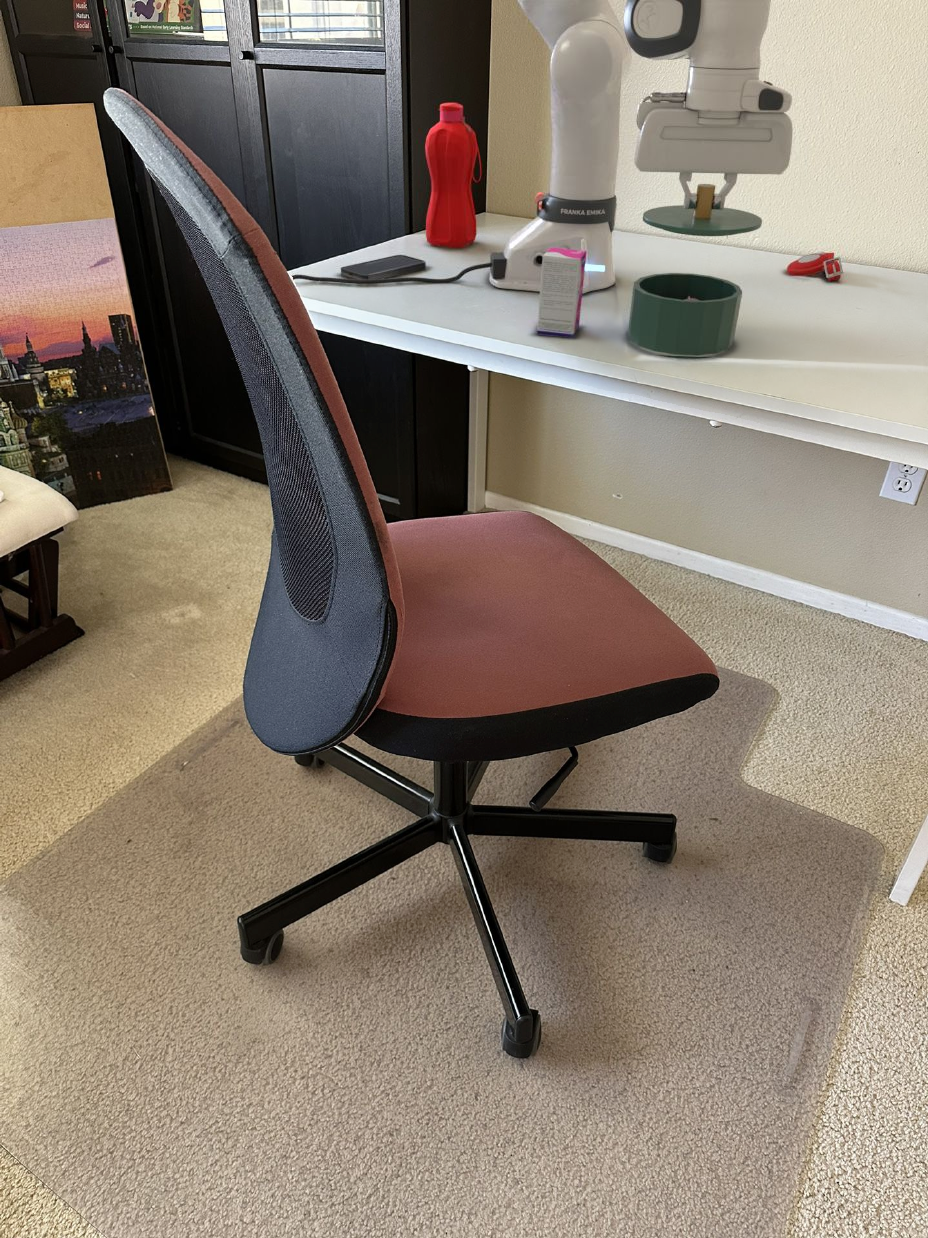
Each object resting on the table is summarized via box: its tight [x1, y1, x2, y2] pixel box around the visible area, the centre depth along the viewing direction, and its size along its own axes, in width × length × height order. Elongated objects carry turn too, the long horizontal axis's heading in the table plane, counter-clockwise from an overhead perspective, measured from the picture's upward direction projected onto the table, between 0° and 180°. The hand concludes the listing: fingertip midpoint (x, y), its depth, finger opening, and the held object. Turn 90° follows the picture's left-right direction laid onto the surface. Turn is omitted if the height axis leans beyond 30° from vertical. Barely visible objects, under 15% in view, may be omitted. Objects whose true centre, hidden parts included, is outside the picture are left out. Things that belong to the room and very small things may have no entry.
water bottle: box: [424, 102, 482, 249], centre depth 176 cm, size 9×11×25 cm
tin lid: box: [642, 183, 763, 237], centre depth 124 cm, size 16×16×5 cm
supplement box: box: [536, 248, 587, 339], centre depth 135 cm, size 6×6×12 cm
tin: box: [627, 272, 743, 360], centre depth 132 cm, size 15×15×8 cm
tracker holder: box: [786, 251, 844, 282], centre depth 164 cm, size 12×4×10 cm
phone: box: [340, 254, 427, 280], centre depth 165 cm, size 8×1×15 cm
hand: (703, 208), depth 124 cm, fingers closed on tin lid, 2 cm apart
